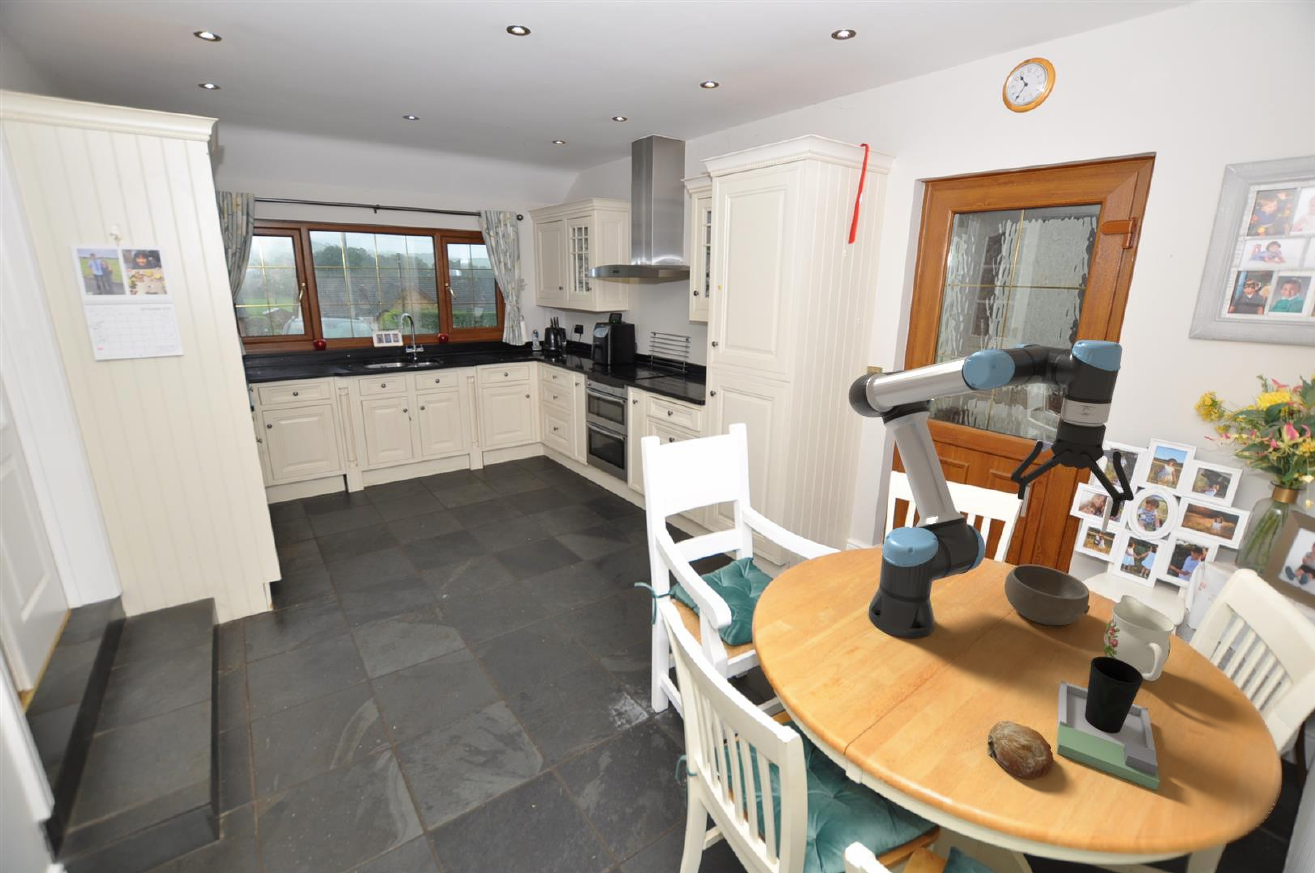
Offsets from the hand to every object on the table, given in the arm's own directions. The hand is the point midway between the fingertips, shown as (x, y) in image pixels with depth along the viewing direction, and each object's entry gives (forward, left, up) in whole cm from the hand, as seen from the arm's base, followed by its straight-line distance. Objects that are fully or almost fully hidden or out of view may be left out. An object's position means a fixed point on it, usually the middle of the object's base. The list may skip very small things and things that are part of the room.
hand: (1061, 522), depth 118 cm
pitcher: (+18, +10, -35) cm, 41 cm away
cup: (+12, -13, -34) cm, 38 cm away
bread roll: (-1, -30, -35) cm, 46 cm away
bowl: (+1, +25, -35) cm, 43 cm away
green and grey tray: (+12, -16, -35) cm, 40 cm away
